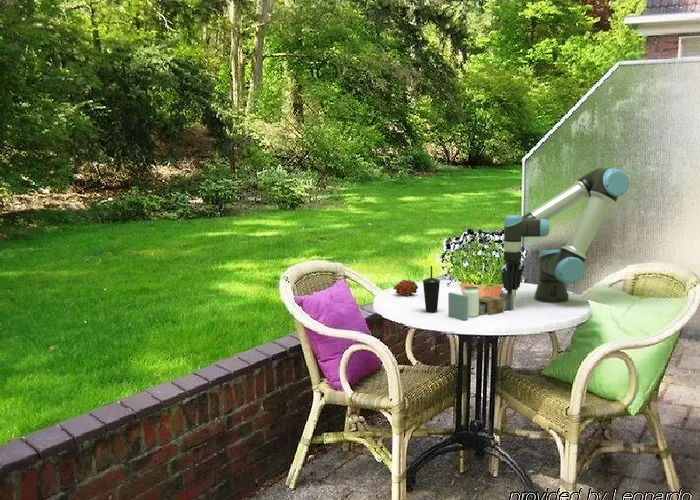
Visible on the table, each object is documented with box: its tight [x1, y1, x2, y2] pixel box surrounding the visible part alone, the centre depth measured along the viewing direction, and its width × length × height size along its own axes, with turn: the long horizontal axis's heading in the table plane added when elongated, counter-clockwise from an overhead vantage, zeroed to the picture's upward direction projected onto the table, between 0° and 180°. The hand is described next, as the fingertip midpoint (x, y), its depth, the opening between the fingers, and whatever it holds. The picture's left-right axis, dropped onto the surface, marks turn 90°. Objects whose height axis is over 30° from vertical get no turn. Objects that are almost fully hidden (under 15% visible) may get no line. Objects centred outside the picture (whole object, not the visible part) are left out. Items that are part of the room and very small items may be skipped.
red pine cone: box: [392, 279, 419, 297], centre depth 338 cm, size 8×8×12 cm
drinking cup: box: [422, 265, 441, 314], centre depth 301 cm, size 8×8×20 cm
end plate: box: [447, 291, 469, 322], centre depth 289 cm, size 2×10×10 cm, turn 33°
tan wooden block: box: [479, 295, 504, 316], centre depth 299 cm, size 8×8×6 cm
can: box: [462, 285, 480, 318], centre depth 293 cm, size 6×6×12 cm
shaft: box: [479, 291, 514, 315], centre depth 300 cm, size 18×6×7 cm, turn 123°
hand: (511, 304), depth 307 cm, fingers closed
